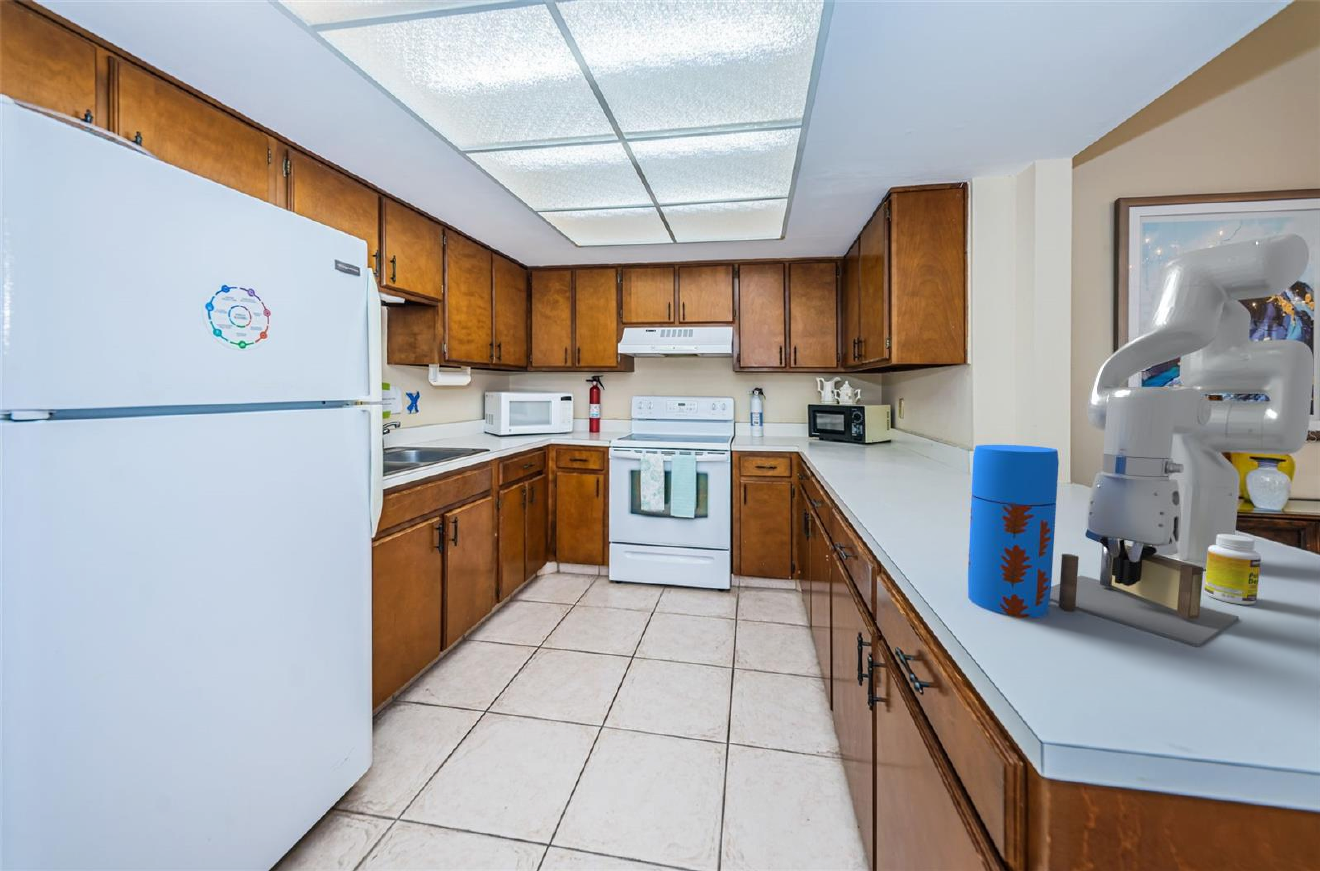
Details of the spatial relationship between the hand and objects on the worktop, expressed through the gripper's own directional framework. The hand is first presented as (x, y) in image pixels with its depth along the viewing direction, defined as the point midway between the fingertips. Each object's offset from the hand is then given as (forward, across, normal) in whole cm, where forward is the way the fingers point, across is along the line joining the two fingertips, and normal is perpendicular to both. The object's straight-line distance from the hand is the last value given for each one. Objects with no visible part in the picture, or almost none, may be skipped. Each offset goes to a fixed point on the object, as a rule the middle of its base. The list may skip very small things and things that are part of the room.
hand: (1125, 582), depth 77 cm
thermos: (+4, +9, +15) cm, 18 cm away
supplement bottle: (+4, -7, -18) cm, 20 cm away
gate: (+3, -1, -3) cm, 4 cm away
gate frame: (+4, -1, 0) cm, 4 cm away
